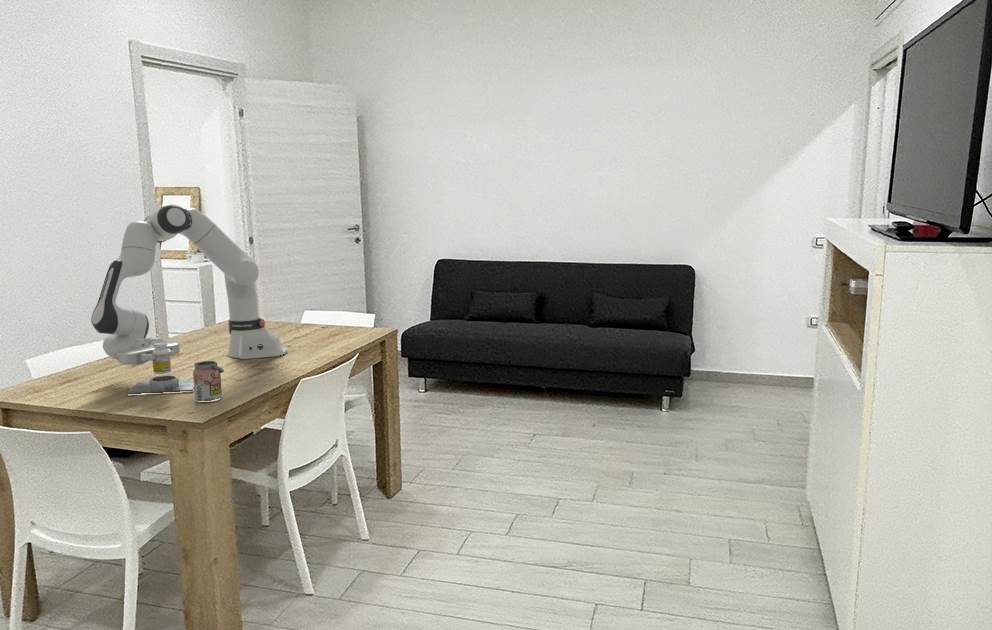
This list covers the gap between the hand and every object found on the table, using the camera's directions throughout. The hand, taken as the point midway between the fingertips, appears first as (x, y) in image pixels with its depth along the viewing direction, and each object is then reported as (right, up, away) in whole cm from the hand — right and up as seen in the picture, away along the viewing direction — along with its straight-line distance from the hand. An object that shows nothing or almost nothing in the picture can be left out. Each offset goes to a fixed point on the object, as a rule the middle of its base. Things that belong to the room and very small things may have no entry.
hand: (162, 355), depth 262 cm
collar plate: (0, -11, +3) cm, 11 cm away
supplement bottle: (-1, -6, +1) cm, 6 cm away
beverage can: (+19, -14, -11) cm, 26 cm away
